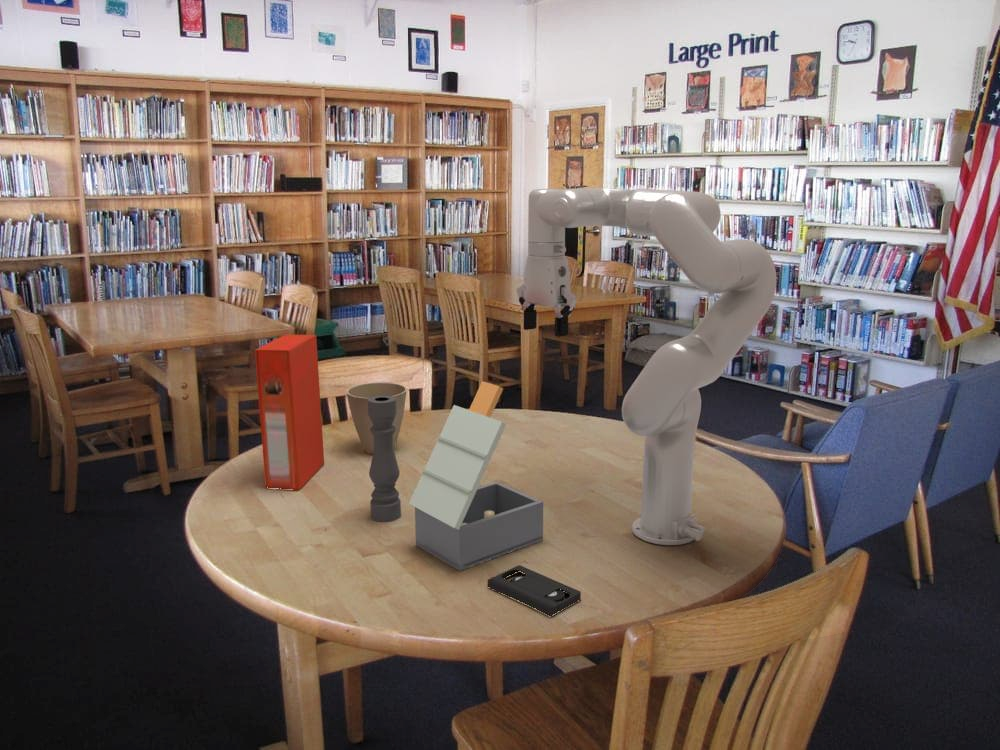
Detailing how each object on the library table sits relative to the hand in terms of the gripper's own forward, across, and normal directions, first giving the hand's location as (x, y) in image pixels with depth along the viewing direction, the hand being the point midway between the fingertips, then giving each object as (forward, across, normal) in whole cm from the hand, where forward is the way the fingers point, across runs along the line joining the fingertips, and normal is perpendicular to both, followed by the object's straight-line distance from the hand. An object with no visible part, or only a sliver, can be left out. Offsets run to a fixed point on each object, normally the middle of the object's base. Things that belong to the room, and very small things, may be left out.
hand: (545, 332), depth 178 cm
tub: (+36, -10, +26) cm, 46 cm away
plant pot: (+36, +49, +12) cm, 62 cm away
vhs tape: (+37, -32, +31) cm, 58 cm away
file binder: (+36, +45, +37) cm, 69 cm away
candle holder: (+36, +12, +33) cm, 51 cm away
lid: (+17, -11, +29) cm, 35 cm away
